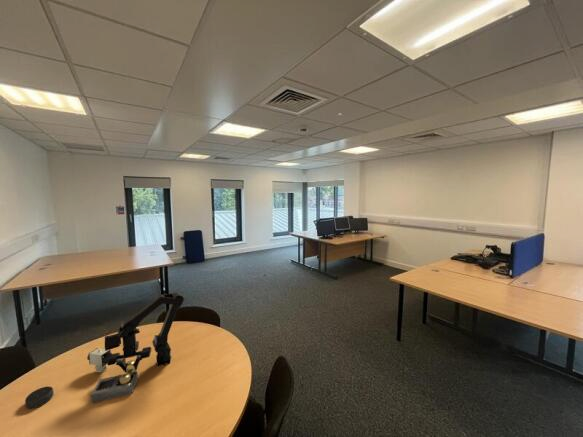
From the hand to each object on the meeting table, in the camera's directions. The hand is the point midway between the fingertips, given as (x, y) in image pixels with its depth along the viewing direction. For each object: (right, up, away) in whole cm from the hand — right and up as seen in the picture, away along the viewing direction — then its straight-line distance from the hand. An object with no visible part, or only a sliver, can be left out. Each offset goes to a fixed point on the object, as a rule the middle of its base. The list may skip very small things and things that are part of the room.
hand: (131, 370), depth 127 cm
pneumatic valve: (-18, -2, +3) cm, 18 cm away
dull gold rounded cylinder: (+3, -3, -9) cm, 10 cm away
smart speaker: (-31, -4, -17) cm, 35 cm away
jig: (0, -3, -11) cm, 11 cm away
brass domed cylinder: (0, -2, 0) cm, 2 cm away
